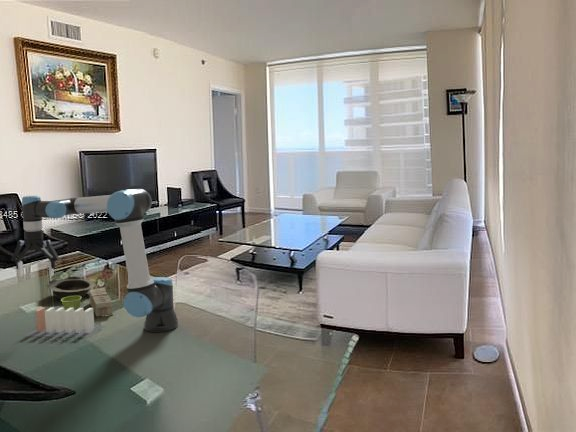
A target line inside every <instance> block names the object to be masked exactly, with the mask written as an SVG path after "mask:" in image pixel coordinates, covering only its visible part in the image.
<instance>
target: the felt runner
mask: <svg viewBox="0 0 576 432" xmlns="http://www.w3.org/2000/svg"><path fill="white" fill-rule="evenodd" d="M96 325H97V324H96ZM96 327H97V328H96ZM104 327H105V325H100V326H99V325H97V326H94V328H95V329H94V333H95V332H97V331H98V332H100V331H101V330H102V329H103V328H104ZM97 329H99V330H97ZM95 330H97V331H95ZM98 332H97V333H98ZM91 333H92V335H91ZM95 334H96V333H95ZM93 336H94V335H93V332H92V331H91V332H90V333H85V329H84V330H83V331H82V332H80V333H76V331H75V329H74V330H73V331H72V332H70V333H66V329H65V330H63V331H62V332H60V333H56V329H55V330H53V331H52V332H50V333H46V329H45V330H44V331H42V332H37V329H36V328H35V329H33V330H32V331H30V332H29V333H27V334H26V335H25V337H41V338H45V337H48V338H50V337H53V338H55V337H56V338H59V337H60V338H61V337H62V338H92V337H93Z"/></svg>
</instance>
